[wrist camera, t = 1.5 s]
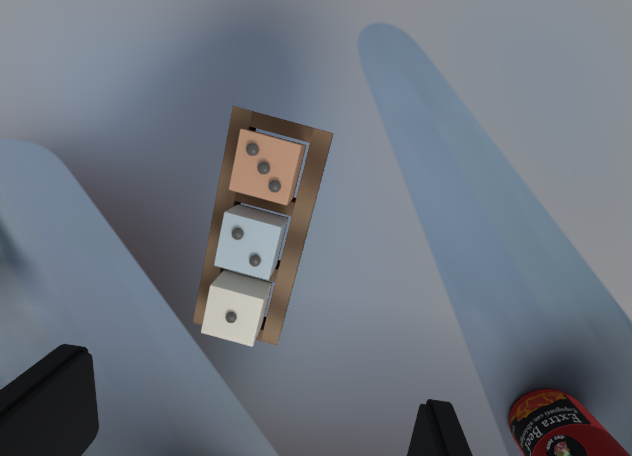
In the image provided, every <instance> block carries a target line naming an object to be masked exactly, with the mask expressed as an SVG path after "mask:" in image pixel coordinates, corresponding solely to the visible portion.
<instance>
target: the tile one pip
mask: <svg viewBox="0 0 632 456" xmlns="http://www.w3.org/2000/svg"><path fill="white" fill-rule="evenodd" d="M271 286H272V282H269V281H266V280H262V279H258V278H255V277H251V276H247V275H244V274H240V273H236V272H233V271H229V270H226V269H225V270H224V271H223V272H222V273H221V274H220V275H219V276H218V277H217V278H216V279H215V281H214V282H213V283H212V284H211V285H210V289H209V294H208V299H207V304H206V310H205V315H204V320H203V325H202V330H201V333H204V334H208V335H212V336H215V337H219V338H222V339H226V340H230V341H234V342H238V343H241V344H244V345H248V346H252V347H253V344H254V342H255V340H256V337H257V335H258V333H259V330H260V328H261V326H262V323H263V319H264V315H265V310H266V306H267V302H268V298H269V294H270V290H271Z"/></svg>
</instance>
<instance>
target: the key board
mask: <svg viewBox="0 0 632 456" xmlns="http://www.w3.org/2000/svg"><path fill="white" fill-rule="evenodd" d="M256 128H258V129H262V130H265V131H269V132H273V133H276V134H280V135H284V136H288V137H291V138H295V139H299V140H302V141H306V142H310V146H309V150H308V154H307V158H306V162H305V166H304V170H303V174H302V178H301V182H300V186H299V190H298V194H297V198H294V197H293V199H292V200H291V201H290V202H289V204H288V205H283V204H280V203H276V202H272V201H269V200H265V199H261V198H258V197H254V196H250V195H247V194H243V193H239V192H236V191H232V190H229V186H230V181H231V176H232V170H233V165H234V160H235V155H236V150H237V145H238V139H239V134H240V129H245V130H251V131H256ZM332 137H333V133H331V132H327V131H324V130H320V129H316V128H312V127H309V126H305V125H301V124H298V123H294V122H290V121H287V120H283V119H279V118H276V117H271V116H268V115H265V114H261V113H257V112H254V111H250V110H246V109H242V108H239V107H235V106H233V109H232V114H231V120H230V125H229V130H228V136H227V141H226V147H225V152H224V157H223V163H222V168H221V174H220V179H219V185H218V190H217V196H216V201H215V206H214V212H213V217H212V222H211V228H210V233H209V239H208V244H207V249H206V255H205V260H204V266H203V271H202V276H201V282H200V287H199V293H198V299H197V303H196V309H195V315H194V320H193V323H197V324H200V325H203V320H204V315H205V310H206V304H207V299H208V294H209V289H210V285H211V284H212V283H213V282H214V281H215V279H216V278H217V277H218V276H219V275H220V274H221V273H222V272H223V271H224V270H225V268H222V267H218V266H214V263H215V258H216V253H217V248H218V243H219V237H220V232H221V227H222V222H223V217H224V212H225V211H227V210H229V209H230V208H232V207H234V206H236V205H237V204H241V202H242V203H245V204H249V205H252V206H256V207H260V208H263V209H267V210H271V211H274V212H278V213H282V214H286V215H289V216H292V218H291V222H290V226H289V230H288V234H287V238H286V242H285V246H284V250H283V254H282V258H281V261H280V260H278V262H277V265H276V267H275V269H274V271H273V273H272V275H271V277H270V279H269V280H270V281H274V282H275V286H274V290H273V294H272V298H271V302H270V306H269V310H268V314H267V317H264V319H263V323H262V326H261V328H260V330H259V333H258V335H257V337H256V340H259V341H263V342H266V343H270V344H273V345H277V342H278V340H279V337H280V333H281V329H282V326H283V322H284V319H285V314H286V311H287V307H288V303H289V300H290V296H291V292H292V288H293V285H294V280H295V277H296V273H297V270H298V266H299V262H300V258H301V254H302V251H303V247H304V243H305V239H306V236H307V232H308V228H309V224H310V221H311V217H312V213H313V209H314V205H315V202H316V198H317V194H318V190H319V186H320V183H321V179H322V175H323V171H324V167H325V164H326V160H327V157H328V153H329V149H330V145H331V141H332ZM226 270H227V269H226Z"/></svg>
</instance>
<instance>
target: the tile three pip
mask: <svg viewBox="0 0 632 456" xmlns="http://www.w3.org/2000/svg"><path fill="white" fill-rule="evenodd" d="M305 148H306V145H303V144H300V143H296V142H292V141H289V140H284V139H281V138H277V137H273V136H270V135H266V134H263V133H259V132H255V131H251V130H245V129H240V134H239V139H238V145H237V150H236V155H235V160H234V165H233V170H232V176H231V181H230V186H229V190H232V191H236V192H239V193H243V194H247V195H250V196H254V197H258V198H261V199H265V200H269V201H272V202H276V203H280V204H283V205H288V204H289V202H290V201H291V200H292V199H293V197H294V193H295V189H296V185H297V181H298V177H299V173H300V169H301V164H302V161H303V156H304V152H305Z"/></svg>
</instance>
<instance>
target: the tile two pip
mask: <svg viewBox="0 0 632 456" xmlns="http://www.w3.org/2000/svg"><path fill="white" fill-rule="evenodd" d="M287 221H288V217H284V216H280V215H277V214H273V213H270V212H266V211H262V210H259V209H255V208H251V207H248V206H244V205H240V204H237V205H236V206H234V207H232V208H230V209H229V210H227V211H225V212H224V217H223V222H222V227H221V232H220V237H219V243H218V248H217V253H216V258H215V263H214V266H218V267H222V268H225V269H229V270H233V271H237V272H240V273H244V274H247V275H251V276H255V277H258V278H262V279H266V280H269V279H270V277H271V275H272V273H273V271H274V269H275V267H276V265H277V262H278V258H279V254H280V249H281V246H282V241H283V238H284V234H285V229H286V225H287Z"/></svg>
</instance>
